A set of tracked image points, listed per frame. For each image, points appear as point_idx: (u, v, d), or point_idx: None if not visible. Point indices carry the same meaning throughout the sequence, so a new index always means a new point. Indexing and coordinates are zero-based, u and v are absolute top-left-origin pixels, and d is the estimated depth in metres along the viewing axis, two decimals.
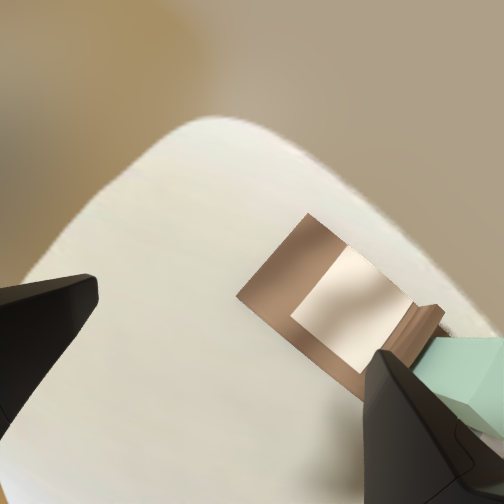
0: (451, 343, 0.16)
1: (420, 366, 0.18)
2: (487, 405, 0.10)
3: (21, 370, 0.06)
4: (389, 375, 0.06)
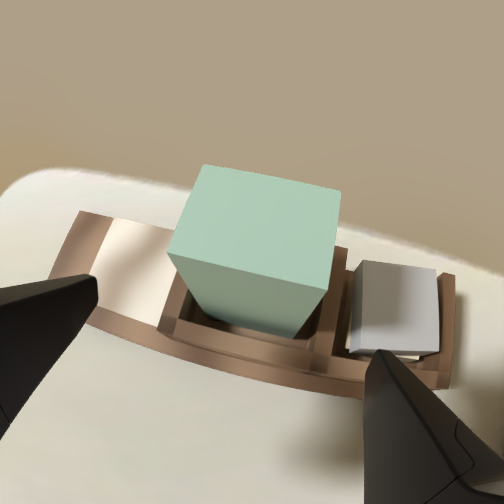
0: None
1: None
2: (211, 244, 0.10)
3: (21, 370, 0.06)
4: (389, 375, 0.06)
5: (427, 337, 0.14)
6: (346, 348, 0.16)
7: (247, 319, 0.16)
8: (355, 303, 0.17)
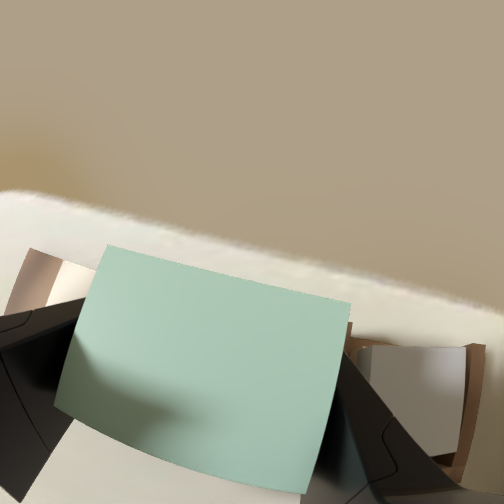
0: None
1: None
2: (112, 407, 0.05)
3: None
4: None
5: (445, 438, 0.09)
6: None
7: None
8: None
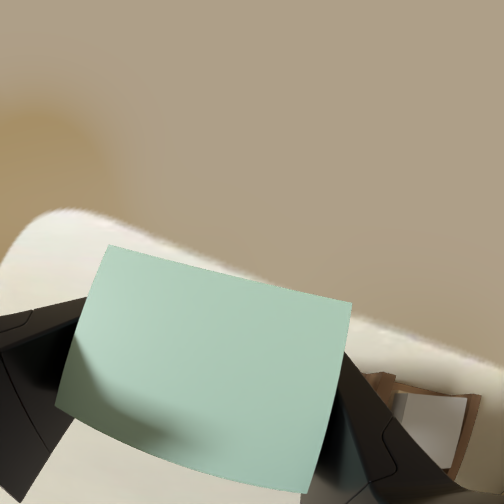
0: None
1: None
2: (113, 407, 0.05)
3: None
4: None
5: (444, 458, 0.13)
6: None
7: None
8: None
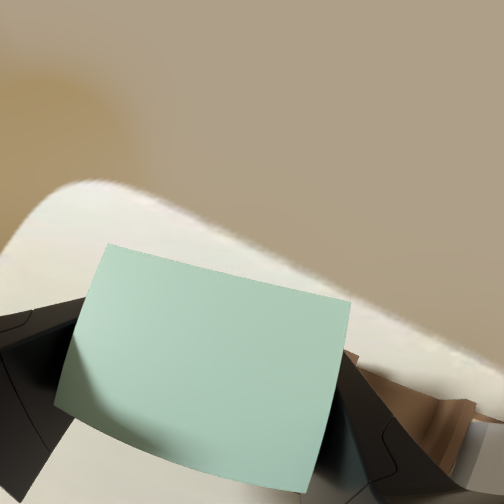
0: None
1: None
2: (112, 406, 0.05)
3: None
4: None
5: None
6: None
7: None
8: (464, 456, 0.11)
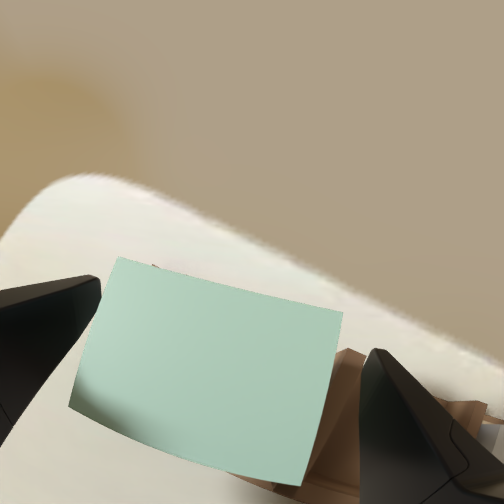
0: None
1: None
2: (124, 407, 0.06)
3: (24, 372, 0.06)
4: (384, 374, 0.06)
5: None
6: None
7: None
8: None
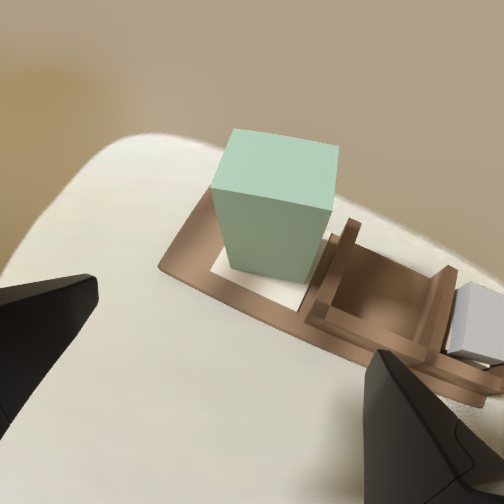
0: None
1: None
2: (244, 181, 0.14)
3: (21, 370, 0.06)
4: (389, 375, 0.06)
5: (502, 349, 0.15)
6: (445, 349, 0.18)
7: (266, 260, 0.20)
8: (458, 314, 0.18)
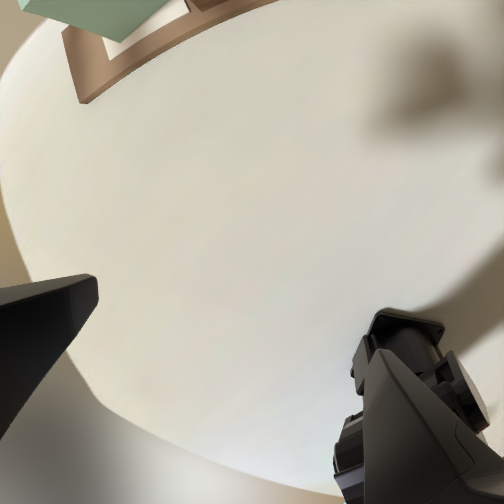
0: None
1: None
2: None
3: (21, 370, 0.06)
4: (389, 375, 0.06)
5: None
6: None
7: (125, 7, 0.13)
8: None
